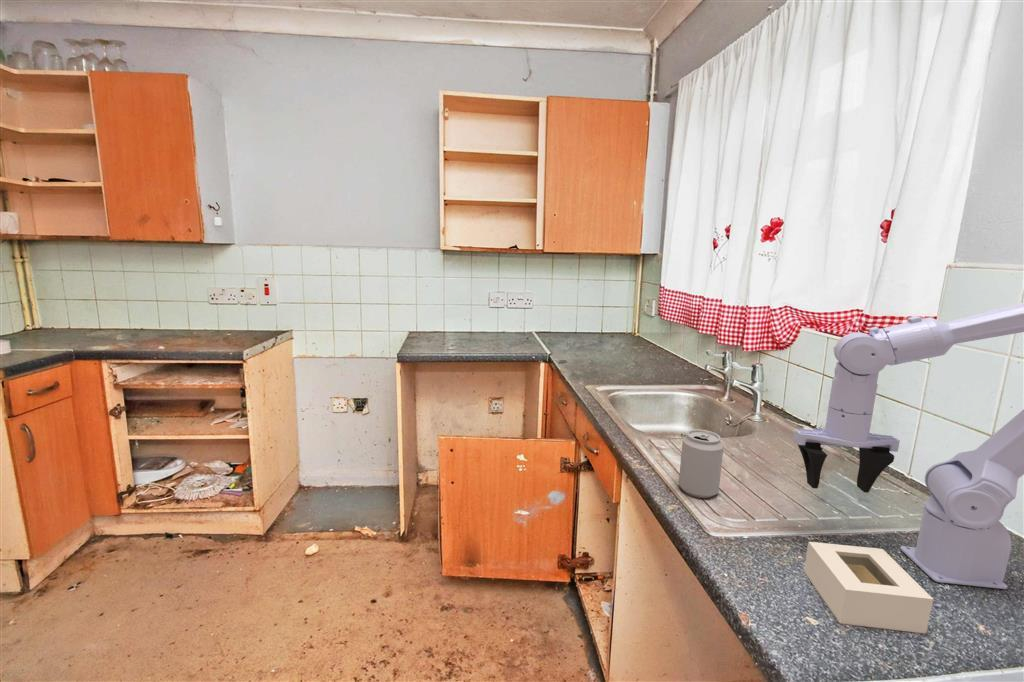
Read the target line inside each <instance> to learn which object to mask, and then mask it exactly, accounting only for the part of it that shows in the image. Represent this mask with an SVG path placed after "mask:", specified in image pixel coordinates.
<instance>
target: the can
mask: <svg viewBox="0 0 1024 682" xmlns="http://www.w3.org/2000/svg"><path fill="white" fill-rule="evenodd" d="M721 439H722V438H721V436H720V435H719V434H718V433H716V432H713V431H710V430H705V429H699V428H697V429H696V428H695V429H690V430H688V431H686V435H685V436H684V437H683V438H682V445H681V452H680V453H681V455H680V466H679V473H678V474H679V476H678V485H679V487H680V488H681V489H682V490H683V492H685V494H686V495H689V496H691V497H694V498H699V499H709V498H712V497H713V496H715V495H717V494H718V493H719V491H720V483H721V474H722V464H723V457H724V448H725V447H724V443H722V441H721Z"/></svg>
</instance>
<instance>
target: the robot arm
mask: <svg viewBox="0 0 1024 682" xmlns="http://www.w3.org/2000/svg"><path fill="white" fill-rule="evenodd" d="M868 330H869V334H868V333H866V332H862V331H861V332H860V331H859V332H856V331H855V332H850V333H847V334H845V335H843V336H842V338H839V339H838V341H837V342H836V344H835V346H834V347H833V354H834V355H833V356H834V357H835V358H836V360H837V362H836V365H835V367H834V376H833V378H832V381H831V388H830V395H829V399H828V400H829V401H828V407H827V412H826V413H827V414H826V420H825V427H824V428H823V427H822V428H811V429H810V428H809V429H794V432H793V439H792V440H793V441H794V443H796V444H797V446H798V449H799V451H800V453H801V457H802V460H803V464H804V467H805V472H806V473H805V475H806V482H807V483H806V484H808V485H809V486H810V487H811V488H812V489H818V488H819V485H820V479H821V473H822V469H823V466H824V464H825V461H826V459H827V457H828V454H827V453H826V452H824V451H823V447H822V446H831V447H846V448H847V447H848V448H858V450H859V463H858V464H859V465H858V466H859V467H858V471H857V477H856V487H858V488H859V489H860V490H861V491H862V492H863V493H866V494H867V493H870V491H871V489H872V487H873V485H874V483H875V482H876V480H877V479H878V477H879V476H880V475H881V473H883V471H884V470H885V469H886V468H888V467H889V466H890V465H891V464H892V463H894V460H895V454H893V452H895V453H899V448H900V442H901V441H900V440H899V439H898V438H897V437H894V436H893V435H888V434H880V433H879V434H877V433H872V432H870V430H871V426H872V419H873V414H874V408H875V401H876V396H877V393H878V392H877V391H878V387H879V385H878V379H879V373H880V372H881V371H882V370H884V369H885V367H886V366H895V365H900V364H907V363H911V362H916V361H917V362H918V361H921V360H926V359H931V358H936V357H941V356H944V355H945V356H946V354H947V353H948V352H949V350H951V348H952V347H953V346H955V345H957V344H963V343H967V342H974V341H981V340H984V339H985V340H986V339H991V338H997V337H1003V336H1009V335H1014V334H1021V333H1024V301H1023V302H1019V303H1015V304H1012V305H1008V306H1004V307H1000V308H995V309H992V310H988V311H985V312H981V313H977V314H973V315H968V316H965V317H960V318H958V319H953V320H949V321H945V322H942V321H940V320H938V319H936V318H933V317H929V316H928V317H924V318H922V317H921V316H919V315H915V316H909V317H908V318H907V322H904V323H899V324H895V325H889V326H886V327H882V328H879V327H878V326H872V327H870V328H869V329H868ZM891 452H892V453H891ZM1023 476H1024V408H1023V409H1022V410H1021V411H1020V412H1018V413H1017V414H1016V415H1015V416H1013V418H1011V419H1010V420H1009V421H1008V422H1007V423H1005V424H1004V425H1003V426H1002V427H1001V428H1000V429H999V430H997V431H996V432H995V433H994V434H992V435H991V436H990V437H989V438H988V439H986V440H985V441H984V442H982V443H981V444H980V445H979V446H978V447H976V449H973V450H969V451H968V450H967V451H962V452H957V454H955V455H954V456H953V457H951V458H949V459H948V460H945V461H942V462H937V463H936V464H933V465H932V466H930V467H929V468H928V469H927V471H926V473H925V475H924V484H925V486H926V488H927V489H928V490H929V491H930V496H929V497H928V499H927V500H926V501H925V503H924V507H923V512H922V517H921V522H920V527H919V530H918V536H917V540H916V545H915V546H906V545H905V546H904V545H901V546H900V547H899V548H900V550H901V551H902V553H904V554H905V555H906V556H907V557H908V558H909V560H912V562H914V563H915V565H917V566H918V567H919V568H920V569H921V570H922V571H923V572H924V573H925V574H926V575H927V576H928V577H930V578H931V579H932V580H933V582H936V583H944V584H953V585H964V586H970V587H971V586H973V587H982V588H992V589H1001V590H1007V589H1008V587H1009V586H1008V585H1007V584H1006V583H1005V582H1004V579H1005V575H1006V570H1007V566H1008V564H1009V559H1010V556H1011V552H1012V538H1011V535H1010V532H1009V531H1008V528H1007V527H1006V526H1005V525H1004V524H1003V523H1002V522H1001V519H1002V517H1003V516H1004V513H1005V510H1006V508H1007V506H1008V505H1009V504H1010V503H1011V502H1012V501H1014V500H1015V499H1016V497H1017V491H1018V490H1017V489H1018V482H1019V479H1020V478H1022V477H1023Z"/></svg>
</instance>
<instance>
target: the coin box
mask: <svg viewBox="0 0 1024 682" xmlns="http://www.w3.org/2000/svg"><path fill="white" fill-rule="evenodd" d="M805 556H806V557H805V562H804V568H803V572H804V574H805V575H806V577H807V578H808V580H809V581H810V583H812V585H813V587H814V588H815V589H816V591H817V593H818V594H819V596H820V597H821V599H822V600H823V601H824V602H825V604H826V606H827V607H828V609H829V610H830V611H831V613H832V614H833V616H834V618H836V620H837V621H838V622H839V624H840V625H841V624H843V625H850V626H861V627H868V628H873V629H874V628H876V629H885V630H894V631H901V632H909V633H917V634H927V631H928V626H929V621H930V615H931V613H932V608H933V602H934V598H933V597H932V596H931V595H930V593H928V592H927V591H926V590H925V589H924V588H923V587H922V586H921V585H920V584H919V583H917V581H916V580H915V579H914V578H913V577H911V575H910V574H909V573H908V572H907V571H906V570H904V569H903V567H902V566H900V564H899V563H898V562H896V561H895V559H894V558H893V557H891V556H890V555H889V554H888V552H886V550H885V549H883V548H876V547H869V546H867V547H866V546H858V545H849V544H848V545H845V544H838V543H837V544H835V543H827V542H826V543H825V542H818V541H816V542H815V541H808V542H807V549H806V555H805ZM846 564H851V565H864V566H865V567H866V568H867V569H868V570H869V571H870V573H871V574H872V575H873V576H874V577H875V578H876V579H877V580H878V581H879V582H880V583H881V584H882V585H880V584H870V583H861V581H860V580H859V579H858V578H857V577H856V576H855V574H854V573H853V572H852V571H851V570H850V568H849V567H848V566H847V565H846Z"/></svg>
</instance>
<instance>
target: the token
mask: <svg viewBox="0 0 1024 682" xmlns="http://www.w3.org/2000/svg"><path fill="white" fill-rule="evenodd" d="M846 565H847V566H848V567H849V568H850V570H851V571H852V572H853V573H854V574H855V576H856V577H857V578H858V579H859V580H860V581H861V583H870V584H880V585H882V584H881V583H880V582H879V581H878V580H877V579H876V578H875V577H874V576H873V575H872V574H871V573H870V571H869V570H868V569H867V568H866V567H865V566H864V565H851V564H846Z"/></svg>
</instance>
